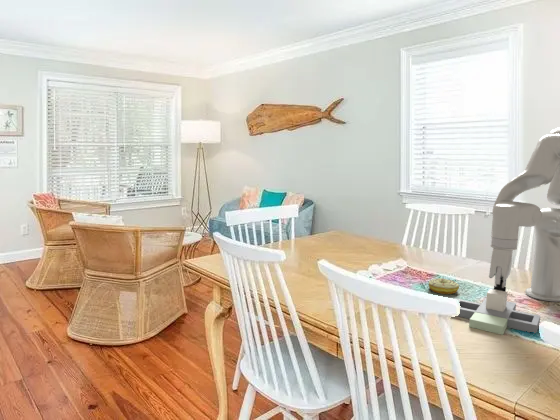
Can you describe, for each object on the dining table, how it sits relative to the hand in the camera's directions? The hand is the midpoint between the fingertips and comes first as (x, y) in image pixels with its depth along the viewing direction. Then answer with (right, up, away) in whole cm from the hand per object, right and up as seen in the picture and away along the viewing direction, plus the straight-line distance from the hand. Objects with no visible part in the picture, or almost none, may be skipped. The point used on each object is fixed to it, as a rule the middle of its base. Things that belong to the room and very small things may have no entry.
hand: (498, 298), depth 139 cm
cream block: (-3, -2, -4) cm, 5 cm away
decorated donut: (-10, -2, +20) cm, 23 cm away
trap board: (-4, -5, -5) cm, 8 cm away
